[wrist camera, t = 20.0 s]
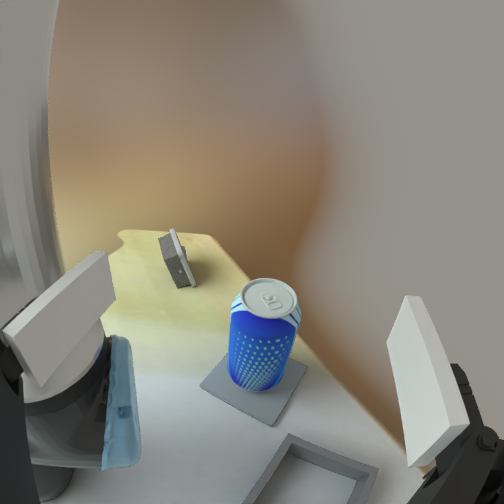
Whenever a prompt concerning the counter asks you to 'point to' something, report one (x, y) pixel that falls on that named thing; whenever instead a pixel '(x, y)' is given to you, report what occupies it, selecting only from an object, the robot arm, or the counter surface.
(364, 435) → the counter surface
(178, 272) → the electrical switch
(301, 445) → the grey storage bin
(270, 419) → the coaster mat
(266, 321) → the beer can
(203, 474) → the counter surface
